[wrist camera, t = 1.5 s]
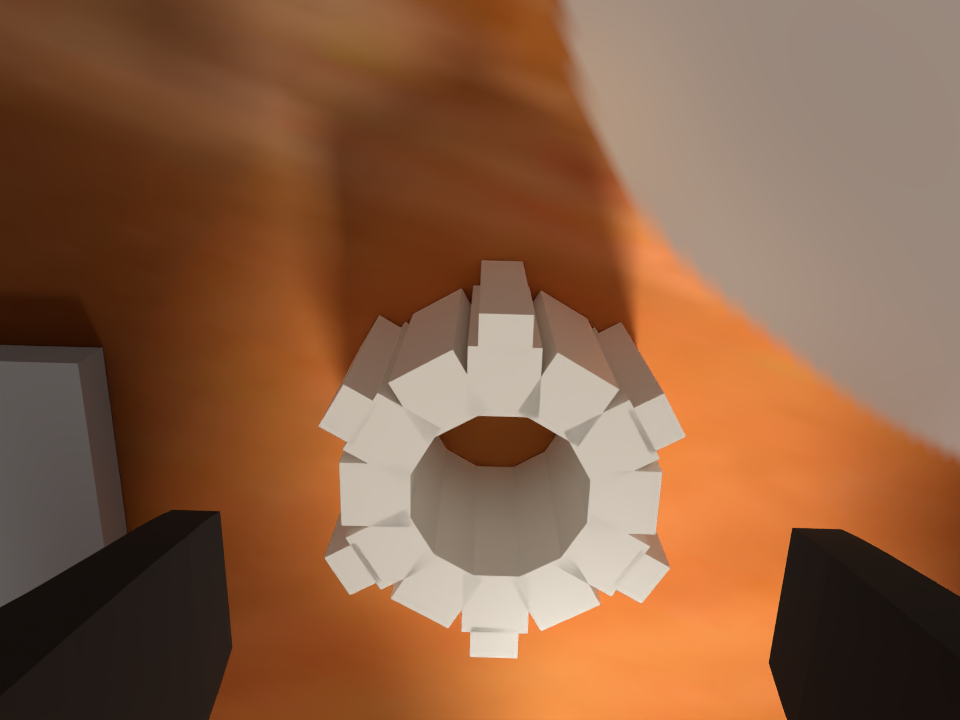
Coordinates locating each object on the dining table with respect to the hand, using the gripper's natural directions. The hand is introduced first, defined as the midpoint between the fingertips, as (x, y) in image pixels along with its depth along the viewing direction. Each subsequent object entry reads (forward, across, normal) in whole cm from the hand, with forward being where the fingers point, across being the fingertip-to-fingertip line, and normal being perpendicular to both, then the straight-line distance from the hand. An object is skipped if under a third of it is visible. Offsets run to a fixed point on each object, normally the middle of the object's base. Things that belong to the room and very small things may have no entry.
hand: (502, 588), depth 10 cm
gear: (+6, 0, 0) cm, 7 cm away
